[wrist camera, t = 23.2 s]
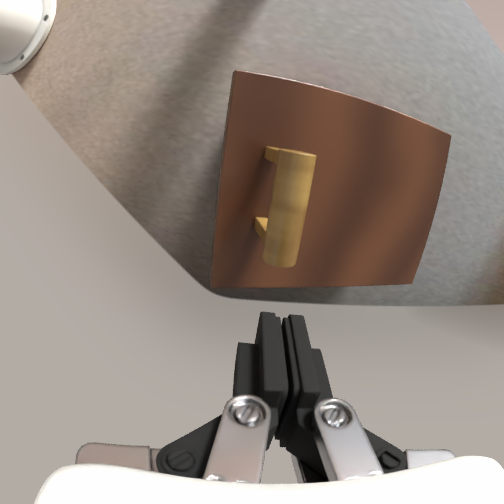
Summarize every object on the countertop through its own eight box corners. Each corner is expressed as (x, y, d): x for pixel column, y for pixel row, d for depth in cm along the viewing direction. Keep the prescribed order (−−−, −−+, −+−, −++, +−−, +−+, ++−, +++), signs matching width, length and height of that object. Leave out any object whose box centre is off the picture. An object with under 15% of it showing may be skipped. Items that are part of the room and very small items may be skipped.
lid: (209, 281, 19) (220, 336, 14) (232, 71, 14) (256, 49, 9) (406, 279, 23) (446, 314, 18) (444, 133, 18) (498, 146, 13)
